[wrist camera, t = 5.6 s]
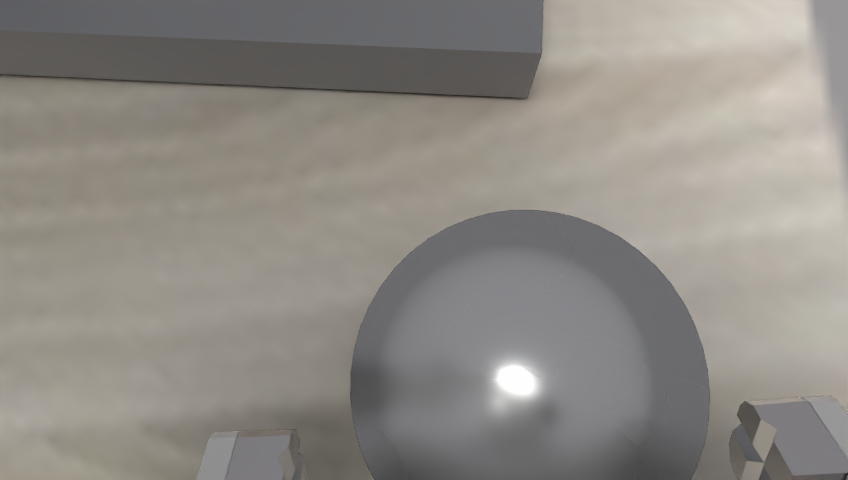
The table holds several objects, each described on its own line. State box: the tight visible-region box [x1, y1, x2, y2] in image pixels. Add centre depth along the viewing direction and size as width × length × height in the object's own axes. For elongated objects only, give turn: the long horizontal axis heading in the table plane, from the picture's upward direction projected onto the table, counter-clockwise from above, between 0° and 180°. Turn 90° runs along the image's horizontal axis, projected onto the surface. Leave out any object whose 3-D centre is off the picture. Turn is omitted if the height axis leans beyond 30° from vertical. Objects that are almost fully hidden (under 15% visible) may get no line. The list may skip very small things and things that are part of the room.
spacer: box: [350, 210, 710, 480], centre depth 14 cm, size 5×5×10 cm
